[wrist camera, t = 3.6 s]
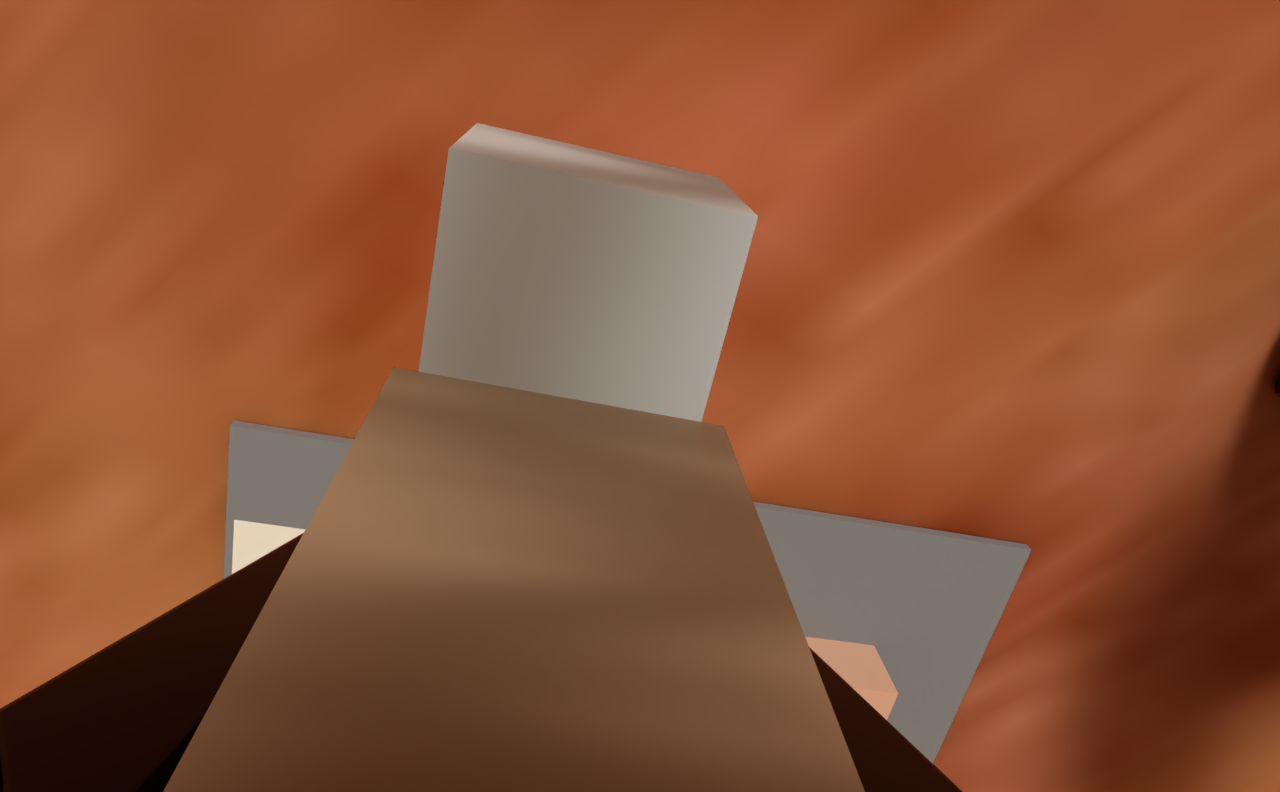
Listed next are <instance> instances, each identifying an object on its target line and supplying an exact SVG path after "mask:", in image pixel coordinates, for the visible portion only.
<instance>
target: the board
mask: <svg viewBox="0 0 1280 792" xmlns="http://www.w3.org/2000/svg"><path fill="white" fill-rule="evenodd" d="M353 441H354V439H350V438H343V437H337V436H330V435H324V434H318V433H311V432H305V431H298V430H292V429H285V428H279V427H273V426H266V425H260V424H253V423H247V422H241V421H233V422H232V424H231V425H230V432H229V457H228V482H227V508H226V533H225V558H224V579H225V578H226V577H228V576H230V575H232V574H233V573H235V572H237V571H238V570H240V569H242V568H244V567H245V566H247V565H249V564H250V563H252V562H254V561H256V560H257V559H259V558H261V557H263V556H264V555H266V554H268V553H269V552H271V551H273V550H275V549H276V548H278V547H280V546H281V545H283V544H285V543H287V542H288V541H290V540H292V539H294V538H295V537H297V536H299V535H300V534H302V533H304V531H305V530H306V528H307V526H308V524H309V522H310V520H311V518H312V517H313V515H314V513H315V511H316V509H317V507H318V506H319V504H320V502H321V500H322V498H323V496H324V495H325V493H326V491H327V489H328V487H329V485H330V484H331V482H332V480H333V478H334V476H335V474H336V472H337V471H338V469H339V467H340V465H341V463H342V461H343V460H344V458H345V456H346V454H347V452H348V450H349V449H350V447H351V445H352V443H353ZM753 503H754V506H755V508H756V511H757V514H758V516H759V519H760V521H761V524H762V527H763V529H764V532H765V534H766V537H767V540H768V542H769V545H770V547H771V550H772V552H773V555H774V558H775V560H776V563H777V565H778V568H779V571H780V573H781V576H782V578H783V581H784V584H785V586H786V589H787V591H788V594H789V596H790V599H791V602H792V604H793V607H794V609H795V612H796V615H797V617H798V620H799V622H800V625H801V628H802V630H803V633H804V635H805V637H813V638H821V639H828V640H836V641H843V642H851V643H859V644H866V645H874V646H875V648H876V650H877V652H878V654H879V656H880V658H881V660H882V662H883V664H884V666H885V668H886V670H887V672H888V674H889V676H890V678H891V680H892V682H893V684H894V686H895V688H896V690H897V692H898V695H897V698H896V700H895V702H894V705H893V707H892V709H891V712H890V714H889V717H888V719H887V721H888V722H889V723H890V724H891V725H892V726H893V727H895V728H896V729H897V730H898V731H899V732H900V733H901V734H902V735H903V736H904V737H905V738H906V739H907V740H908V741H909V742H910V743H911V744H913V745H914V746H915V747H916V748H917V749H918V750H919V751H920V752H921V753H922V754H923V755H924V756H925V757H926V758H927V759H928V760H929V761H931V762H932V763H933V762H934V760H935V758H936V756H937V753H938V751H939V749H940V747H941V745H942V743H943V740H944V738H945V736H946V734H947V732H948V730H949V727H950V725H951V723H952V721H953V719H954V717H955V714H956V712H957V710H958V708H959V706H960V704H961V701H962V699H963V697H964V695H965V693H966V691H967V688H968V686H969V684H970V682H971V680H972V678H973V675H974V673H975V671H976V669H977V667H978V665H979V662H980V660H981V658H982V656H983V654H984V652H985V649H986V647H987V645H988V643H989V641H990V639H991V636H992V634H993V632H994V630H995V628H996V626H997V623H998V621H999V619H1000V617H1001V615H1002V613H1003V610H1004V608H1005V606H1006V604H1007V602H1008V600H1009V597H1010V595H1011V593H1012V591H1013V589H1014V587H1015V584H1016V582H1017V580H1018V578H1019V576H1020V574H1021V571H1022V569H1023V567H1024V565H1025V563H1026V561H1027V558H1028V556H1029V554H1030V552H1031V549H1030V548H1029V547H1028V546H1027V544H1022V543H1016V542H1009V541H1003V540H996V539H990V538H984V537H977V536H971V535H964V534H958V533H952V532H945V531H939V530H932V529H926V528H920V527H913V526H907V525H900V524H894V523H888V522H881V521H875V520H868V519H862V518H856V517H849V516H843V515H836V514H830V513H823V512H817V511H811V510H804V509H798V508H791V507H785V506H779V505H772V504H766V503H759V502H753Z"/></svg>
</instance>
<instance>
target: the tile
mask: <svg viewBox="0 0 1280 792" xmlns="http://www.w3.org/2000/svg"><path fill="white" fill-rule="evenodd" d="M805 638H806V640H807V643H808V646H809V647H810V648H811V649H812V650H813V651H814V652H815V653H816V654H817V655H818V656H819V657H820V658H821V659H823V660H824V661H825V662H826V663H827V664H828V665H829V666H830V667H831V668H832V669H833V670H834V671H835V672H836V673H837V674H838V675H839V676H841V677H842V678H843V679H844V680H845V681H846V682H847V683H848V684H849V685H850V686H851V687H852V688H853V689H854V690H855V691H856V692H857V693H859V694H860V695H861V696H862V697H863V698H864V699H865V700H866V701H867V702H868V703H869V704H870V705H871V706H872V707H873V708H874V709H875V710H877V711H878V712H879V713H880V714H881V715H882V716H883V717H884V718H885V719H886V720H887V719H888V717H889V714H890V712H891V709H892V707H893V705H894V702H895V700H896V698H897V695H898V692H897V690H896V688H895V686H894V684H893V682H892V680H891V678H890V676H889V674H888V672H887V670H886V668H885V666H884V664H883V662H882V660H881V658H880V656H879V654H878V652H877V650H876V648H875V646H874V645H866V644H859V643H851V642H843V641H836V640H828V639H821V638H813V637H805Z"/></svg>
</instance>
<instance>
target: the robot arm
mask: <svg viewBox="0 0 1280 792" xmlns="http://www.w3.org/2000/svg"><path fill="white" fill-rule="evenodd" d="M1275 392H1276V393H1277V395H1278V396H1279V397H1280V375H1279V376H1278V378H1277V381H1276V384H1275ZM302 535H303V533H302V534H300V535H299V536H297V537H295V538H294V539H292V540H290V541H288V542H287V543H285V544H283V545H281V546H280V547H278V548H276V549H275V550H273V551H271V552H269V553H268V554H266V555H264V556H263V557H261V558H259V559H257V560H256V561H254V562H252V563H250V564H249V565H247V566H245V567H244V568H242V569H240V570H238V571H237V572H235V573H233V574H232V575H230V576H228V577H226V578H225V579H223V580H221V581H219V582H218V583H216V584H214V585H213V586H211V587H209V588H207V589H206V590H204V591H202V592H201V593H199V594H197V595H195V596H194V597H192V598H190V599H188V600H187V601H185V602H183V603H182V604H180V605H178V606H176V607H175V608H173V609H171V610H170V611H168V612H166V613H164V614H163V615H161V616H159V617H157V618H156V619H154V620H152V621H151V622H149V623H147V624H145V625H144V626H142V627H140V628H139V629H137V630H135V631H133V632H132V633H130V634H128V635H126V636H125V637H123V638H121V639H120V640H118V641H116V642H114V643H113V644H111V645H109V646H108V647H106V648H104V649H102V650H101V651H99V652H97V653H95V654H94V655H92V656H90V657H89V658H87V659H85V660H83V661H82V662H80V663H78V664H77V665H75V666H73V667H71V668H70V669H68V670H66V671H64V672H63V673H61V674H59V675H58V676H56V677H54V678H52V679H51V680H49V681H47V682H46V683H44V684H42V685H40V686H39V687H37V688H35V689H33V690H32V691H30V692H28V693H27V694H25V695H23V696H21V697H20V698H18V699H16V700H15V701H13V702H11V703H9V704H8V705H6V706H4V707H2V708H1V709H0V792H163V791H164V789H165V787H166V785H167V784H168V782H169V780H170V778H171V776H172V774H173V773H174V771H175V769H176V767H177V765H178V763H179V761H180V760H181V758H182V756H183V754H184V752H185V750H186V749H187V747H188V745H189V743H190V741H191V739H192V738H193V736H194V734H195V732H196V730H197V728H198V727H199V725H200V723H201V721H202V719H203V717H204V715H205V714H206V712H207V710H208V708H209V706H210V704H211V703H212V701H213V699H214V697H215V695H216V693H217V692H218V690H219V688H220V686H221V684H222V682H223V680H224V679H225V677H226V675H227V673H228V671H229V669H230V668H231V666H232V664H233V662H234V660H235V658H236V657H237V655H238V653H239V651H240V649H241V647H242V646H243V644H244V642H245V640H246V638H247V636H248V634H249V633H250V631H251V629H252V627H253V625H254V623H255V622H256V620H257V618H258V616H259V614H260V612H261V611H262V609H263V607H264V605H265V603H266V601H267V599H268V598H269V596H270V594H271V592H272V590H273V588H274V587H275V585H276V583H277V581H278V579H279V577H280V576H281V574H282V572H283V570H284V568H285V566H286V565H287V563H288V561H289V559H290V557H291V555H292V553H293V552H294V550H295V548H296V546H297V544H298V542H299V541H300V539H301V537H302ZM809 648H810V647H809ZM810 651H811V653H812V656H813V659H814V661H815V664H816V666H817V669H818V671H819V674H820V677H821V679H822V682H823V684H824V687H825V690H826V692H827V695H828V697H829V700H830V703H831V705H832V708H833V710H834V713H835V715H836V718H837V721H838V723H839V726H840V728H841V731H842V734H843V736H844V739H845V741H846V744H847V747H848V749H849V752H850V754H851V757H852V759H853V762H854V765H855V767H856V770H857V772H858V775H859V778H860V780H861V783H862V785H863V788H864V790H865V792H962V791H961V790H960V789H959V788H958V787H957V786H956V785H955V784H954V783H953V782H952V781H951V780H950V779H949V778H947V777H946V776H945V775H944V774H943V773H942V772H941V771H940V770H939V769H938V768H937V767H936V766H935V765H934V764H933V763H932V762H931V761H929V760H928V759H927V758H926V757H925V756H924V755H923V754H922V753H921V752H920V751H919V750H918V749H917V748H916V747H915V746H914V745H913V744H911V743H910V742H909V741H908V740H907V739H906V738H905V737H904V736H903V735H902V734H901V733H900V732H899V731H898V730H897V729H896V728H895V727H893V726H892V725H891V724H890V723H889V722H888V721H887V720H886V719H885V718H884V717H883V716H882V715H881V714H880V713H879V712H878V711H877V710H875V709H874V708H873V707H872V706H871V705H870V704H869V703H868V702H867V701H866V700H865V699H864V698H863V697H862V696H861V695H860V694H859V693H857V692H856V691H855V690H854V689H853V688H852V687H851V686H850V685H849V684H848V683H847V682H846V681H845V680H844V679H843V678H842V677H841V676H839V675H838V674H837V673H836V672H835V671H834V670H833V669H832V668H831V667H830V666H829V665H828V664H827V663H826V662H825V661H824V660H823V659H821V658H820V657H819V656H818V655H817V654H816V653H815V652H814V651H813V650H812V649H811V648H810Z"/></svg>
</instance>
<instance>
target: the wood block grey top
mask: <svg viewBox="0 0 1280 792" xmlns="http://www.w3.org/2000/svg"><path fill="white" fill-rule="evenodd" d="M757 219H758V216H757V215H756V214H755V213H754V212H753V211H752V210H751V209H750V208H749V207H748V206H747V205H746V204H745V203H744V202H743V201H742V200H741V199H740V198H739V197H738V196H737V195H736V194H735V193H734V192H733V191H732V190H731V189H730V188H729V187H728V186H727V185H725V184H724V183H723V182H722V181H721V180H720V179H719V178H718V177H715V176H711V175H706V174H702V173H697V172H693V171H688V170H684V169H679V168H675V167H670V166H666V165H662V164H657V163H653V162H648V161H644V160H639V159H635V158H630V157H626V156H621V155H617V154H613V153H608V152H604V151H599V150H595V149H590V148H586V147H581V146H577V145H572V144H568V143H563V142H559V141H555V140H550V139H546V138H541V137H537V136H532V135H528V134H523V133H519V132H514V131H510V130H506V129H501V128H497V127H492V126H488V125H483V124H479V123H477V124H476V125H475V126H473V127H472V128H471V129H470V130H469V131H468V132H467V133H466V134H465V135H463V136H462V137H461V138H460V139H459V140H458V141H457V142H456V143H455V144H453V145H452V146H451V147H450V148H449V151H448V158H447V166H446V173H445V181H444V188H443V195H442V203H441V210H440V218H439V225H438V232H437V240H436V247H435V254H434V262H433V269H432V277H431V284H430V291H429V299H428V306H427V313H426V321H425V328H424V336H423V343H422V350H421V358H420V365H419V372H418V371H412V370H407V369H401V368H396V367H394V368H393V369H392V371H391V373H390V375H389V377H388V379H387V380H386V382H385V384H384V386H383V388H382V390H381V391H380V393H379V395H378V397H377V399H376V401H375V403H374V404H373V406H372V408H371V410H370V412H369V414H368V415H367V417H366V419H365V421H364V423H363V425H362V426H361V428H360V430H359V432H358V434H357V436H356V437H355V439H354V441H353V443H352V445H351V447H350V449H349V450H348V452H347V454H346V456H345V458H344V460H343V461H342V463H341V465H340V467H339V469H338V471H337V472H336V474H335V476H334V478H333V480H332V482H331V484H330V485H329V487H328V489H327V491H326V493H325V495H324V496H323V498H322V500H321V502H320V504H319V506H318V507H317V509H316V511H315V513H314V515H313V517H312V518H311V520H310V522H309V524H308V526H307V528H306V530H305V531H304V533H303V535H302V537H301V539H300V541H299V542H298V544H297V546H296V548H295V550H294V552H293V553H292V555H291V557H290V559H289V561H288V563H287V565H286V566H285V568H284V570H283V572H282V574H281V576H280V577H279V579H278V581H277V583H276V585H275V587H274V588H273V590H272V592H271V594H270V596H269V598H268V599H267V601H266V603H265V605H264V607H263V609H262V611H261V612H260V614H259V616H258V618H257V620H256V622H255V623H254V625H253V627H252V629H251V631H250V633H249V634H248V636H247V638H246V640H245V642H244V644H243V646H242V647H241V649H240V651H239V653H238V655H237V657H236V658H235V660H234V662H233V664H232V666H231V668H230V669H229V671H228V673H227V675H226V677H225V679H224V680H223V682H222V684H221V686H220V688H219V690H218V692H217V693H216V695H215V697H214V699H213V701H212V703H211V704H210V706H209V708H208V710H207V712H206V714H205V715H204V717H203V719H202V721H201V723H200V725H199V727H198V728H197V730H196V732H195V734H194V736H193V738H192V739H191V741H190V743H189V745H188V747H187V749H186V750H185V752H184V754H183V756H182V758H181V760H180V761H179V763H178V765H177V767H176V769H175V771H174V773H173V774H172V776H171V778H170V780H169V782H168V784H167V785H166V787H165V789H164V791H163V792H865V790H864V788H863V785H862V783H861V780H860V778H859V775H858V772H857V770H856V767H855V765H854V762H853V759H852V757H851V754H850V752H849V749H848V747H847V744H846V741H845V739H844V736H843V734H842V731H841V728H840V726H839V723H838V721H837V718H836V715H835V713H834V710H833V708H832V705H831V703H830V700H829V697H828V695H827V692H826V690H825V687H824V684H823V682H822V679H821V677H820V674H819V671H818V669H817V666H816V664H815V661H814V659H813V656H812V653H811V651H810V648H809V646H808V643H807V640H806V638H805V635H804V633H803V630H802V628H801V625H800V622H799V620H798V617H797V615H796V612H795V609H794V607H793V604H792V602H791V599H790V596H789V594H788V591H787V589H786V586H785V584H784V581H783V578H782V576H781V573H780V571H779V568H778V565H777V563H776V560H775V558H774V555H773V552H772V550H771V547H770V545H769V542H768V540H767V537H766V534H765V532H764V529H763V527H762V524H761V521H760V519H759V516H758V514H757V511H756V508H755V506H754V503H753V501H752V498H751V496H750V493H749V490H748V488H747V485H746V483H745V480H744V477H743V475H742V472H741V470H740V467H739V465H738V462H737V459H736V457H735V454H734V452H733V449H732V446H731V444H730V441H729V439H728V436H727V433H726V431H725V428H724V426H722V425H716V424H711V423H705V422H701V421H702V417H703V414H704V410H705V407H706V403H707V399H708V396H709V392H710V388H711V385H712V381H713V378H714V374H715V370H716V367H717V363H718V360H719V356H720V352H721V349H722V345H723V342H724V338H725V334H726V331H727V327H728V324H729V320H730V316H731V313H732V309H733V306H734V302H735V298H736V295H737V291H738V287H739V284H740V280H741V277H742V273H743V269H744V266H745V262H746V259H747V255H748V251H749V248H750V244H751V241H752V237H753V233H754V230H755V226H756V223H757Z"/></svg>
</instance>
